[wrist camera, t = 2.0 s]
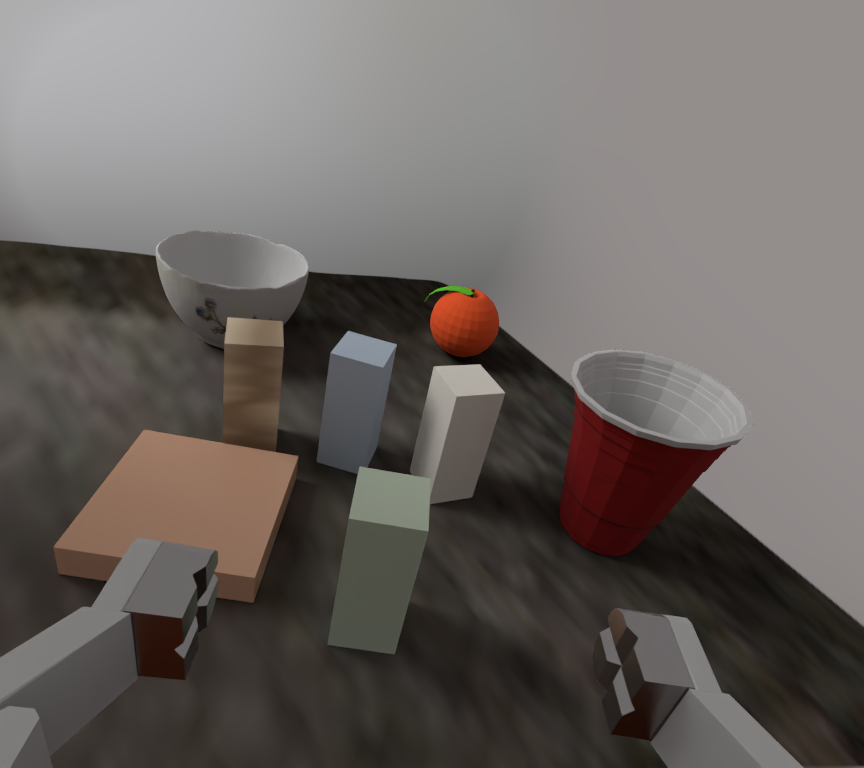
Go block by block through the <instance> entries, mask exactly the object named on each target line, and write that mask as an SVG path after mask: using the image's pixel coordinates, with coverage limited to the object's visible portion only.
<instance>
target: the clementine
mask: <svg viewBox="0 0 864 768" xmlns="http://www.w3.org/2000/svg"><path fill="white" fill-rule="evenodd" d="M443 290H451V291H450V292H448V293H447V294H445V295H444V296H442V297H441V298H440V299H439V301H438V302H437V303H436V305H435V306H434V309H433V311H432V314H431V322H430V326H431V331H432V335H433V337H434V339H435V341H436V342H437V344H438V345H439V346H440V347H441V348H442V349H443V350H444V351H446V352H447V353H449V354H451V355H454V356H458V357H470V356H474V355H478V354H480V353H481V352H483V351H485V350H486V349H487V348H488V347H489V346H490V345H491V344H492V342H493V341H494V340H495V337H496V335H497V333H498V328H499V317H498V312H497V310H496V307H495V305H494V303H493V302H492V301H491V300H490V299H489V298H488V297H487V296H486V295H485V294H484V293H482V292H481V291H478V290H475V289H472V288H464V287H459V286H448V287H443V288H440V289H437V290H435V291H434V292H437V291H443ZM434 292H432V293H431V294H433V293H434ZM431 294H429V295H431ZM428 297H429V296H428ZM428 297H427V298H428ZM427 298H426V299H427ZM426 299H425V300H426Z"/></svg>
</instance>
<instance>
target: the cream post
mask: <svg viewBox="0 0 864 768" xmlns="http://www.w3.org/2000/svg"><path fill="white" fill-rule="evenodd" d="M504 395H505V392H504V391H503V390H502V389H501V388H500V387H499V385H498V384H497V383H496V382H495V381H494V380H493V379H492V377H491V376H490V375H489V374H488V373H487V372H486V371H485V369H484V368H483V367H482V366H481V365H480V364H478V365H456V366H434V368H433V373H432V377H431V381H430V386H429V390H428V394H427V398H426V403H425V407H424V411H423V416H422V420H421V424H420V428H419V433H418V437H417V441H416V446H415V450H414V454H413V458H412V463H411V467H410V473H411V475H413V476H419V477H425V478H431V482H430V504H435V503H441V502H447V501H453V500H459V499H465V498H471V497H472V496H473V493H474V490H475V487H476V484H477V481H478V477H479V474H480V471H481V468H482V465H483V462H484V458H485V455H486V452H487V449H488V446H489V443H490V440H491V436H492V433H493V430H494V427H495V424H496V421H497V417H498V414H499V411H500V408H501V405H502V402H503V398H504Z"/></svg>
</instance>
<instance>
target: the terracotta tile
mask: <svg viewBox="0 0 864 768" xmlns="http://www.w3.org/2000/svg"><path fill="white" fill-rule="evenodd" d="M297 466H298V456H295V455H289V454H284V453H278V452H272V451H266V450H260V449H254V448H249V447H243V446H237V445H231V444H225V443H219V442H214V441H208V440H202V439H196V438H190V437H184V436H178V435H173V434H167V433H161V432H155V431H149V430H144V431H143V432H142V433H141V434H140V436H139V437H138V438H137V440H136V441H135V442H134V443H133V445H132V446H131V447H130V449H129V450H128V451H127V452H126V454H125V455H124V456H123V458H122V459H121V460H120V462H119V463H118V464H117V465H116V467H115V468H114V469H113V471H112V472H111V473H110V474H109V476H108V477H107V478H106V480H105V481H104V482H103V483H102V485H101V486H100V487H99V489H98V490H97V491H96V492H95V494H94V495H93V496H92V498H91V499H90V500H89V502H88V503H87V504H86V505H85V507H84V508H83V509H82V511H81V512H80V513H79V514H78V516H77V517H76V518H75V520H74V521H73V522H72V523H71V525H70V526H69V527H68V529H67V530H66V531H65V532H64V534H63V535H62V536H61V538H60V539H59V540H58V541H57V543H56V544H55V545H54V547H53V549H54V554H55V559H56V564H57V569H58V574H63V575H69V576H76V577H83V578H89V579H96V580H103V581H108V580H109V578H110V577H111V575H112V573H113V572H114V570H115V569H116V567H117V565H118V564H119V562H120V561H121V559H122V557H123V556H124V554H125V553H126V551H127V550H128V548H129V546H130V545H131V543H133V542H134V541H135V540H136V539H137V538H138V537H139V538H145V539H151V540H158V541H164V542H171V543H176V544H182V545H188V546H194V547H200V548H205V549H211V550H216V551H218V564H217V567H216V569H215V571H214V574H215V575H216V576H217V578H218V590H217V598H223V599H230V600H237V601H244V602H250V603H254V600H255V597H256V594H257V591H258V588H259V585H260V583H261V580H262V577H263V574H264V571H265V568H266V565H267V562H268V559H269V556H270V553H271V551H272V548H273V545H274V542H275V539H276V536H277V533H278V530H279V527H280V524H281V522H282V519H283V516H284V513H285V510H286V507H287V504H288V501H289V498H290V495H291V492H292V490H293V487H294V484H295V481H296V476H297Z"/></svg>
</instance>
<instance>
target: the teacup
mask: <svg viewBox="0 0 864 768" xmlns="http://www.w3.org/2000/svg"><path fill="white" fill-rule="evenodd" d="M156 260H157V265H158V271H159V275H160V279H161V282H162V285H163V288H164V290H165V293H166V296H167V298H168V300H169V302H170V304H171V305H172V307H173V309H174V310H175V312H176V313H177V314H178V316H179V317H180V318H181V319H182V321H183V322H184V323H185V324H186V325H187V326H188V327H189V328H190V329H192V330H193V331H194V332H195V333H196V334H198V335H199V337H200V338H201V339H202V340H203V341H204V342H206V343H208V344H210V345H213V346H216V347H219V348H223V349H224V342H225V334H226V326H227V318H228V317H231V318H245V319H259V320H273V321H283V325H284V324H285V323H286V322H287V321H288V319H289V318H290V317H291V315H292V314H293V312H294V311H295V309H296V307H297V306H298V304H299V301H300V299H301V297H302V294H303V292H304V289H305V285H306V282H307V278H308V272H309V264H308V262H307V260H306V258H305V257H304V256H302V255H301V254H300V253H299V252H298V251H296V250H294V249H292V248H290V247H288V246H286V245H284V244H278V245H277V244H273V243H272V242H271V241H269V240H267V239H265V238H262V237H258V236H255V235H249V234H247V233H238V232H236V233H233V232H230V233H229V232H228V233H227V232H226V233H225V232H200V231H190V232H186V233H183V234H180V233H178V234H174V235H172V236H170V237H168V238H166V239H165V240H163V241H161V242H160V243H159V244H158V245H157V248H156Z"/></svg>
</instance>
